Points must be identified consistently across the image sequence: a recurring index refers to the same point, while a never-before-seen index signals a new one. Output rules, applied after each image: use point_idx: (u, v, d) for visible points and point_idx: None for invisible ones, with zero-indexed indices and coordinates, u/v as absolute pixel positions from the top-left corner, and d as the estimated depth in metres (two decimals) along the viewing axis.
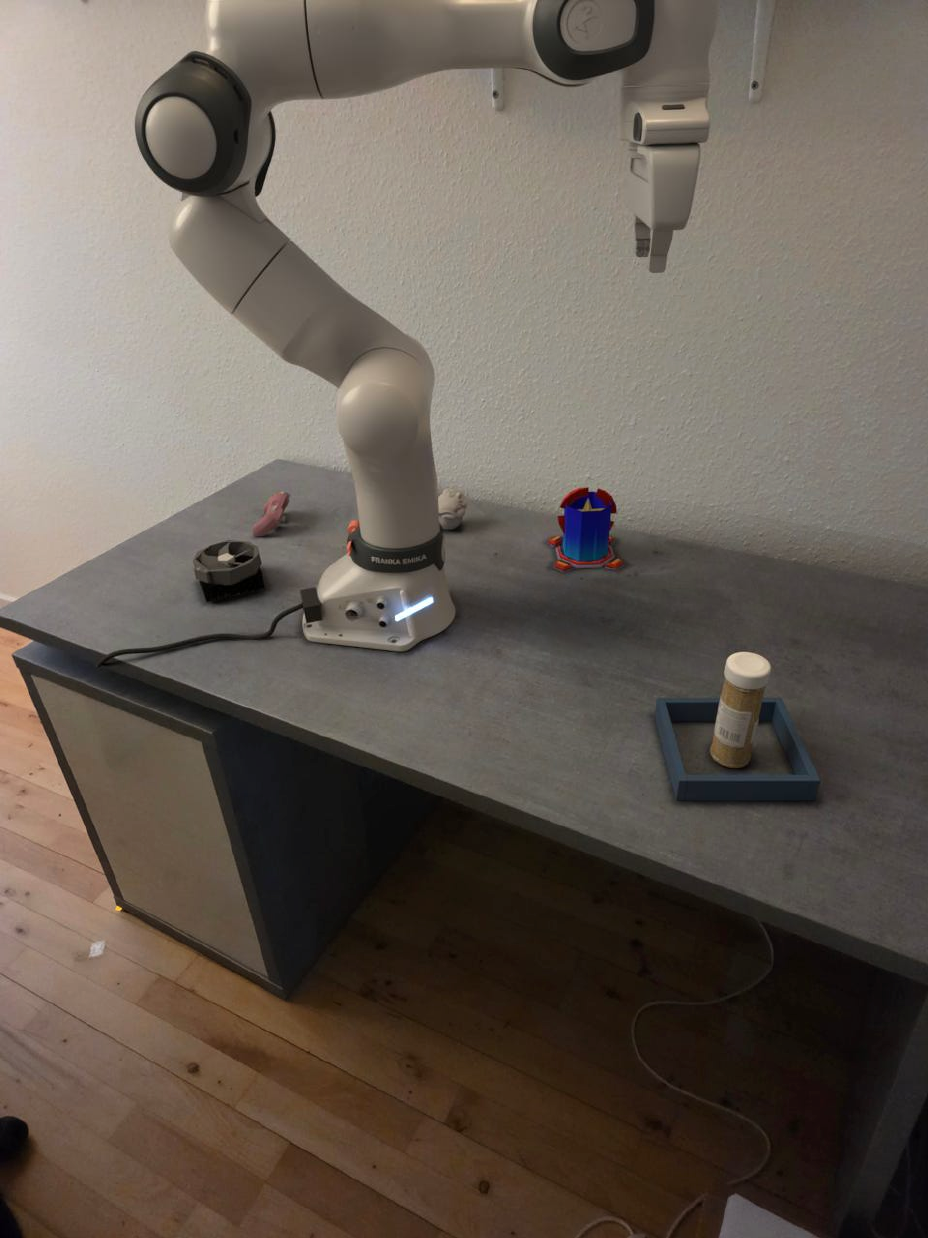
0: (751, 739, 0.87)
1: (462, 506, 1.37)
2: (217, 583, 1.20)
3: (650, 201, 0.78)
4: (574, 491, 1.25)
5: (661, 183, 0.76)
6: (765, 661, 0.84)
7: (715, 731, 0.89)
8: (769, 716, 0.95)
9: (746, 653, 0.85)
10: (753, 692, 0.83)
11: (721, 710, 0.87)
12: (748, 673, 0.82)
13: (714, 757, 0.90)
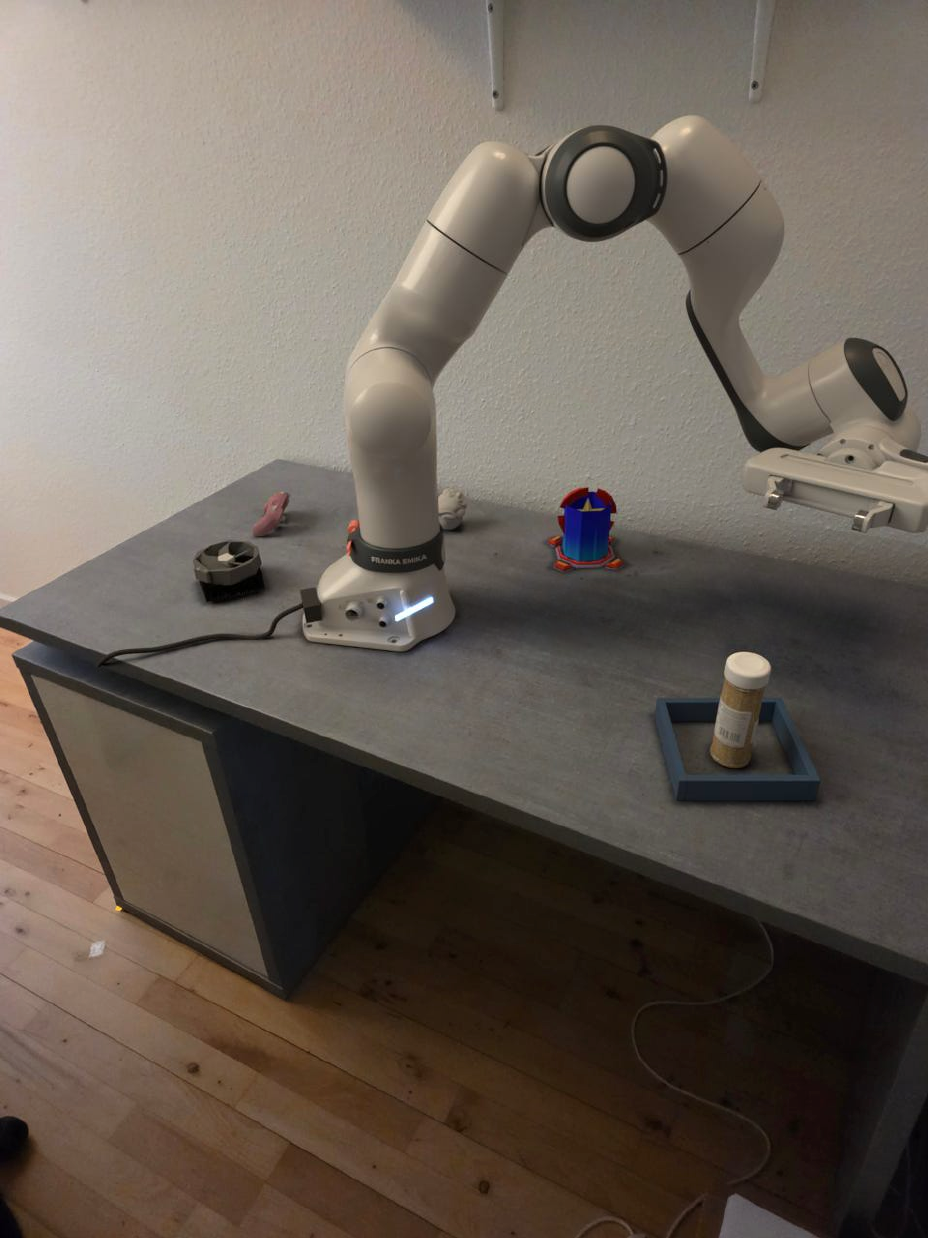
0: (751, 739, 0.87)
1: (462, 506, 1.37)
2: (217, 583, 1.20)
3: None
4: (574, 491, 1.25)
5: None
6: (765, 661, 0.84)
7: (715, 731, 0.89)
8: (769, 716, 0.95)
9: (746, 653, 0.85)
10: (753, 692, 0.83)
11: (721, 710, 0.87)
12: (748, 673, 0.82)
13: (714, 757, 0.90)
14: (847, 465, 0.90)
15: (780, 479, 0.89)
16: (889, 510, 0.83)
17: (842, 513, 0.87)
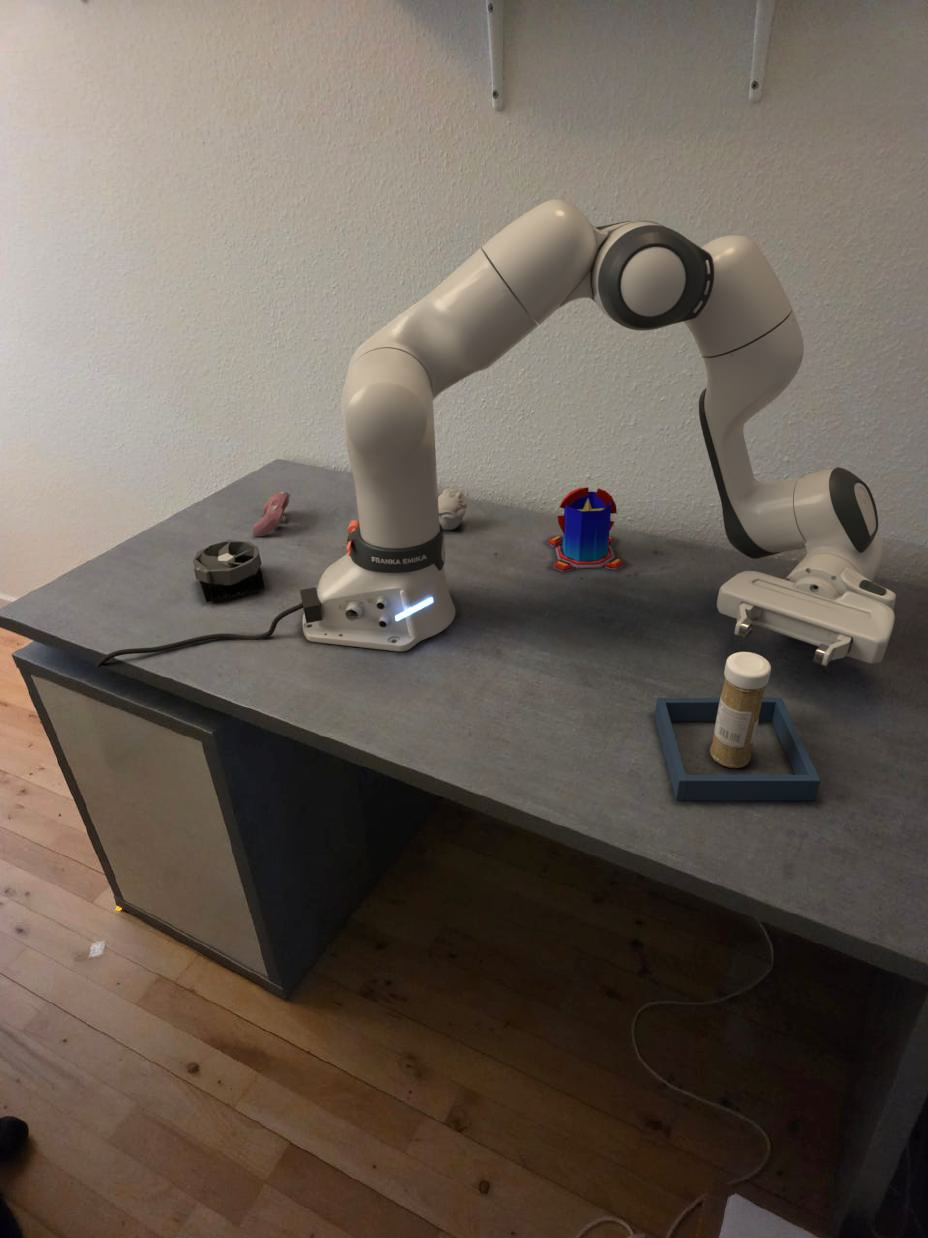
0: (751, 739, 0.87)
1: (462, 506, 1.37)
2: (217, 583, 1.20)
3: (888, 628, 0.91)
4: (574, 491, 1.25)
5: None
6: (765, 661, 0.84)
7: (715, 731, 0.89)
8: (769, 716, 0.95)
9: (746, 653, 0.85)
10: (753, 692, 0.83)
11: (721, 710, 0.87)
12: (748, 673, 0.82)
13: (714, 757, 0.90)
14: (812, 593, 0.98)
15: (750, 607, 0.97)
16: (847, 644, 0.91)
17: (806, 640, 0.95)
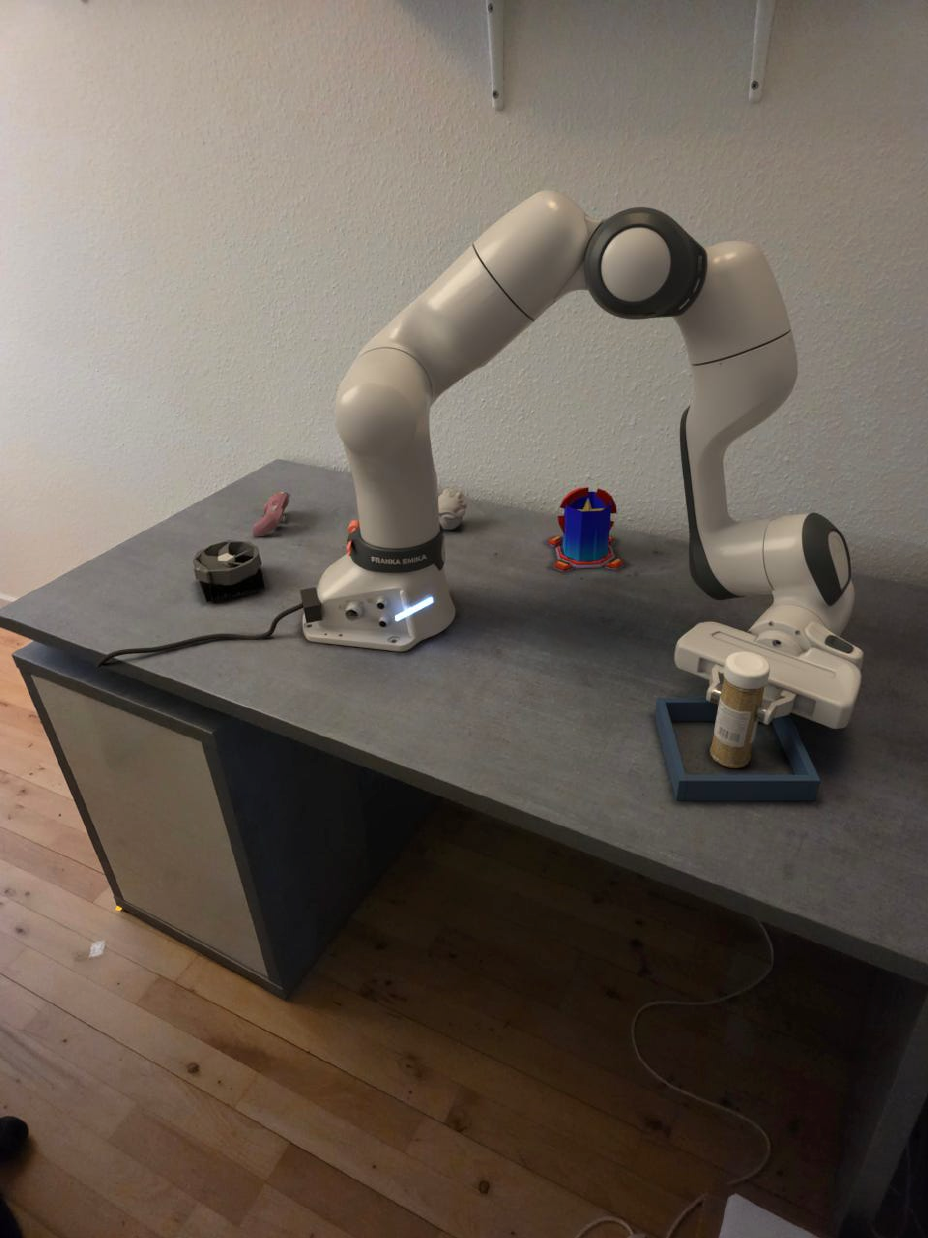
0: (751, 739, 0.87)
1: (462, 506, 1.37)
2: (217, 583, 1.20)
3: (853, 691, 0.84)
4: (574, 491, 1.25)
5: None
6: (764, 661, 0.84)
7: (715, 731, 0.89)
8: None
9: (745, 653, 0.85)
10: (753, 691, 0.83)
11: (720, 710, 0.87)
12: (748, 672, 0.82)
13: (714, 757, 0.90)
14: (775, 649, 0.92)
15: None
16: (791, 701, 0.85)
17: (767, 701, 0.89)
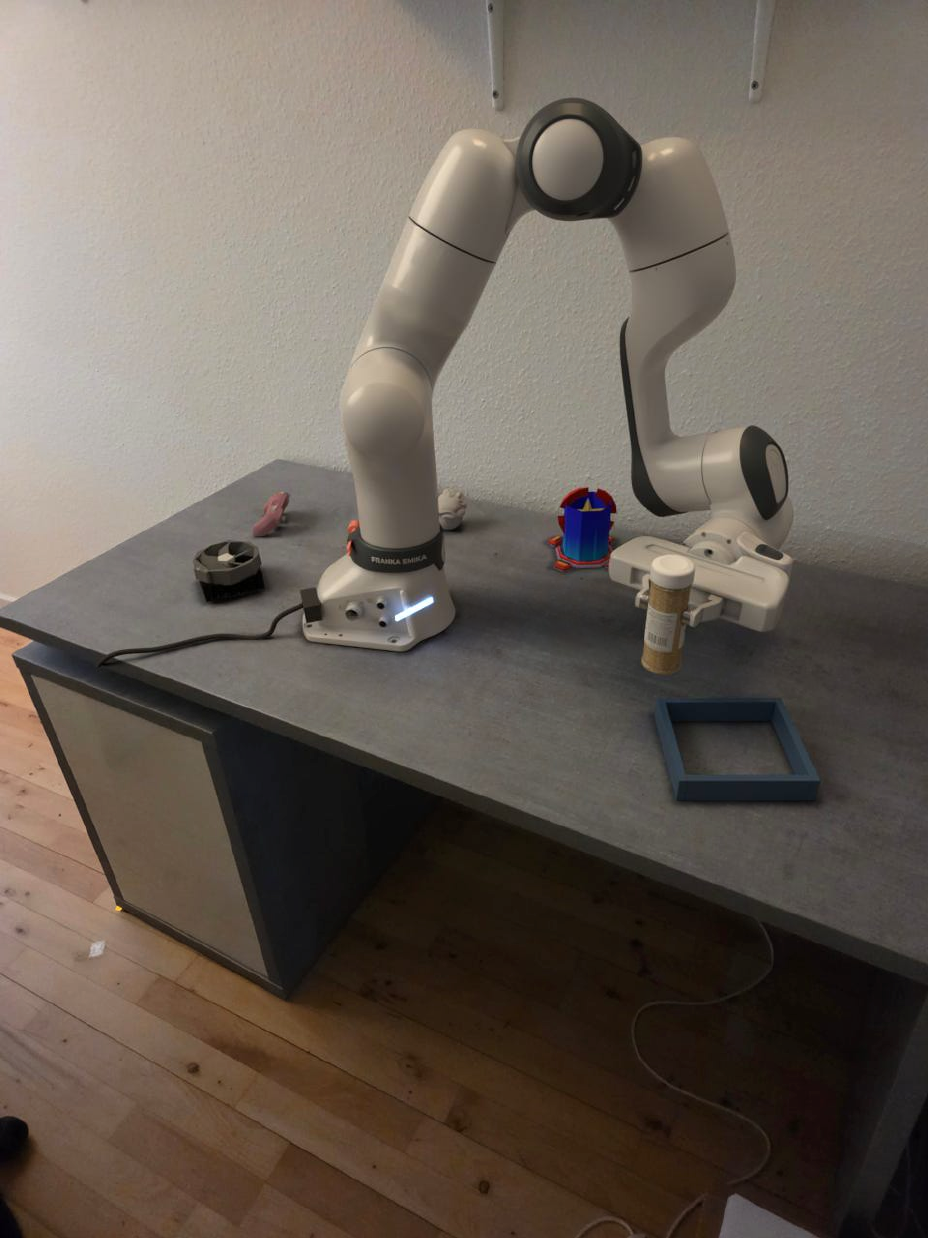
0: (679, 644, 0.87)
1: (462, 506, 1.37)
2: (217, 583, 1.20)
3: (779, 594, 0.85)
4: (574, 491, 1.25)
5: (785, 595, 0.86)
6: (690, 562, 0.84)
7: (644, 638, 0.89)
8: (769, 716, 0.95)
9: (672, 555, 0.85)
10: (678, 592, 0.83)
11: (648, 614, 0.87)
12: (672, 572, 0.82)
13: (644, 665, 0.90)
14: (706, 558, 0.92)
15: None
16: (718, 605, 0.86)
17: None
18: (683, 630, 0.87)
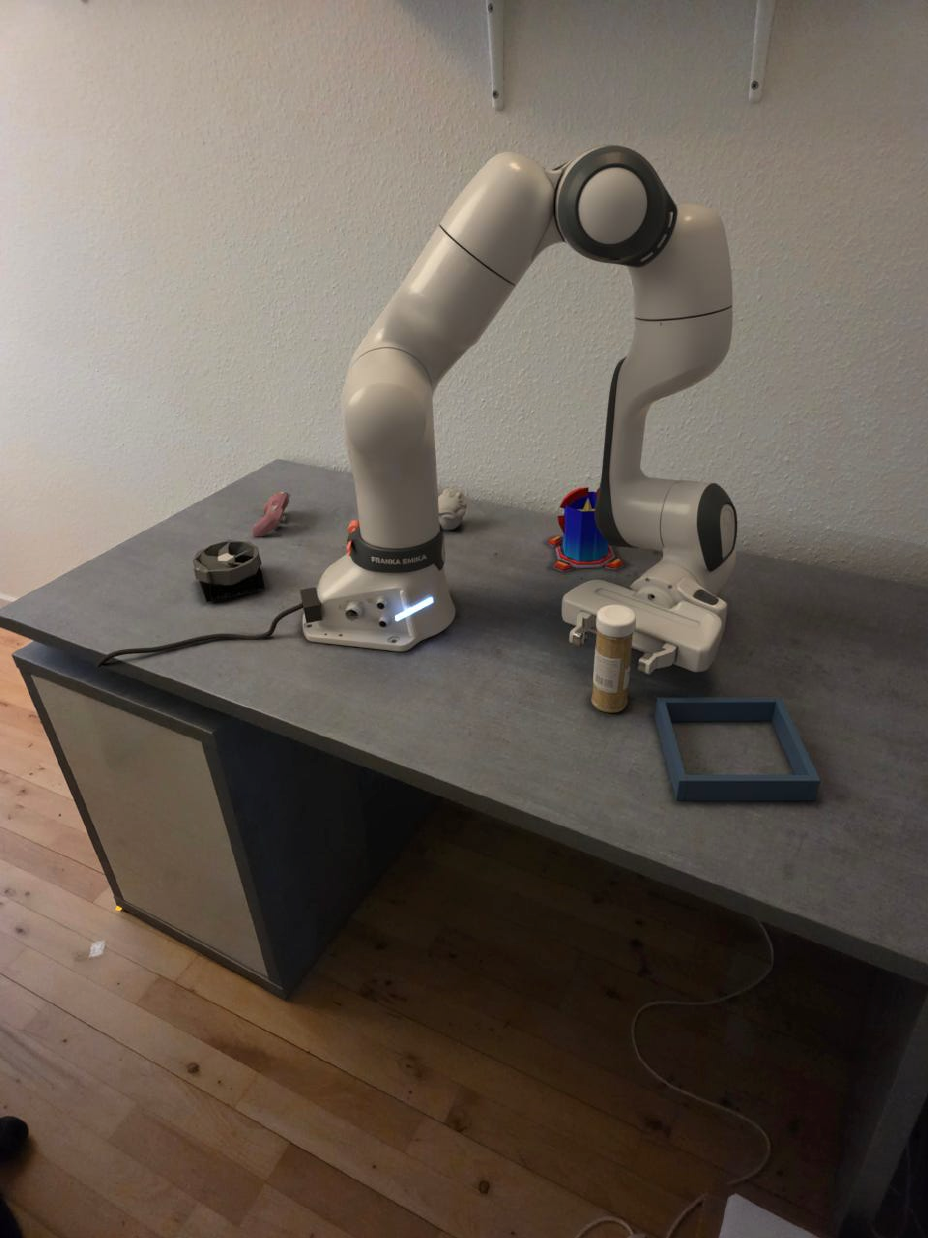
0: (624, 685, 0.96)
1: (462, 506, 1.37)
2: (217, 583, 1.20)
3: (711, 637, 0.93)
4: (574, 491, 1.25)
5: (718, 638, 0.94)
6: (631, 612, 0.92)
7: (593, 679, 0.97)
8: (769, 716, 0.95)
9: (616, 606, 0.93)
10: (620, 640, 0.91)
11: (595, 658, 0.95)
12: (614, 622, 0.91)
13: (594, 703, 0.98)
14: (650, 602, 1.00)
15: (588, 615, 0.99)
16: (671, 653, 0.93)
17: (639, 649, 0.97)
18: (627, 673, 0.95)
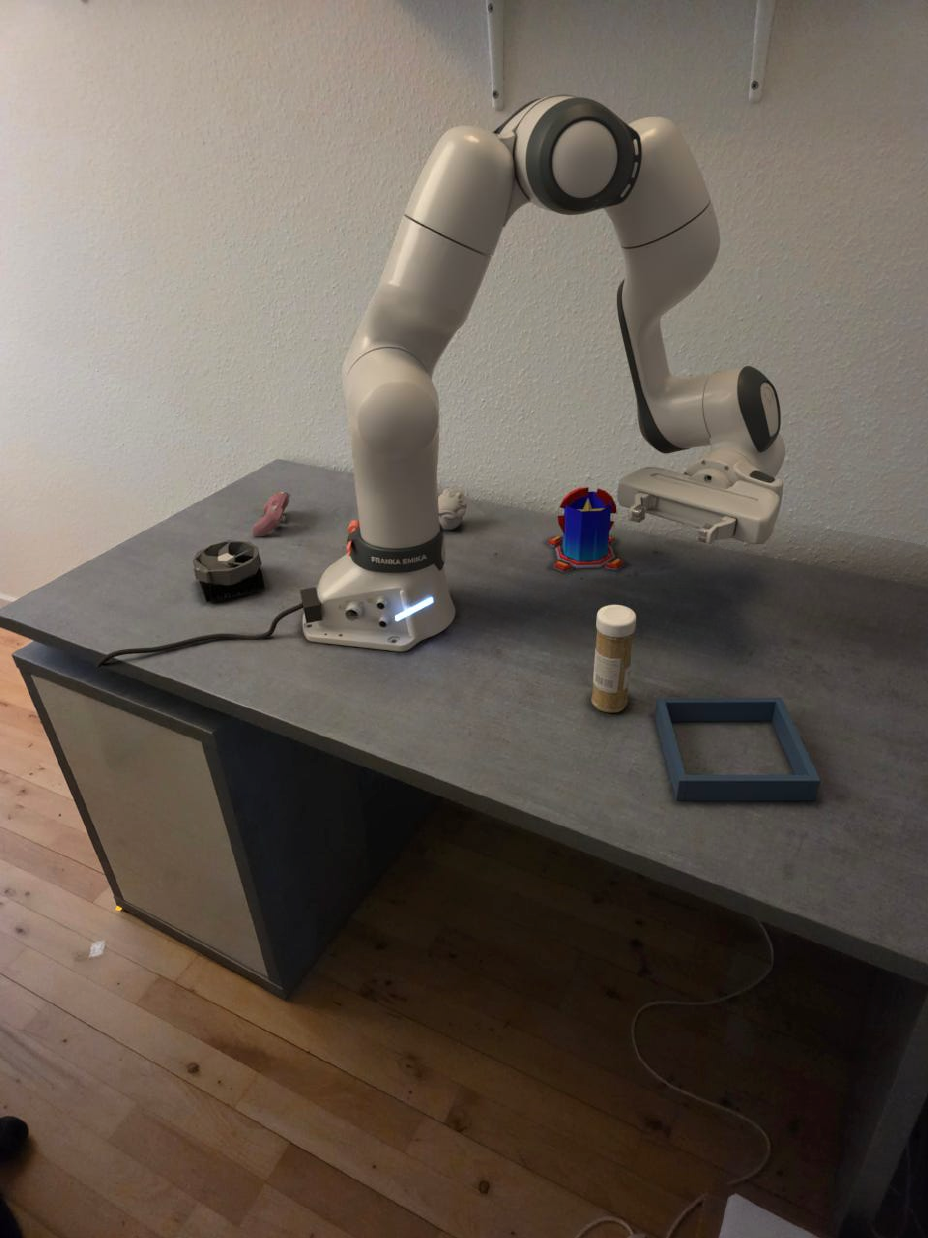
0: (624, 685, 0.96)
1: (462, 506, 1.37)
2: (217, 583, 1.20)
3: (770, 509, 0.95)
4: (574, 491, 1.25)
5: (776, 512, 0.96)
6: (631, 612, 0.92)
7: (593, 679, 0.97)
8: (769, 716, 0.95)
9: (616, 606, 0.93)
10: (620, 640, 0.91)
11: (595, 658, 0.95)
12: (614, 622, 0.91)
13: (594, 703, 0.98)
14: (706, 483, 1.02)
15: (646, 495, 1.01)
16: (731, 524, 0.95)
17: (697, 526, 0.99)
18: (627, 673, 0.95)
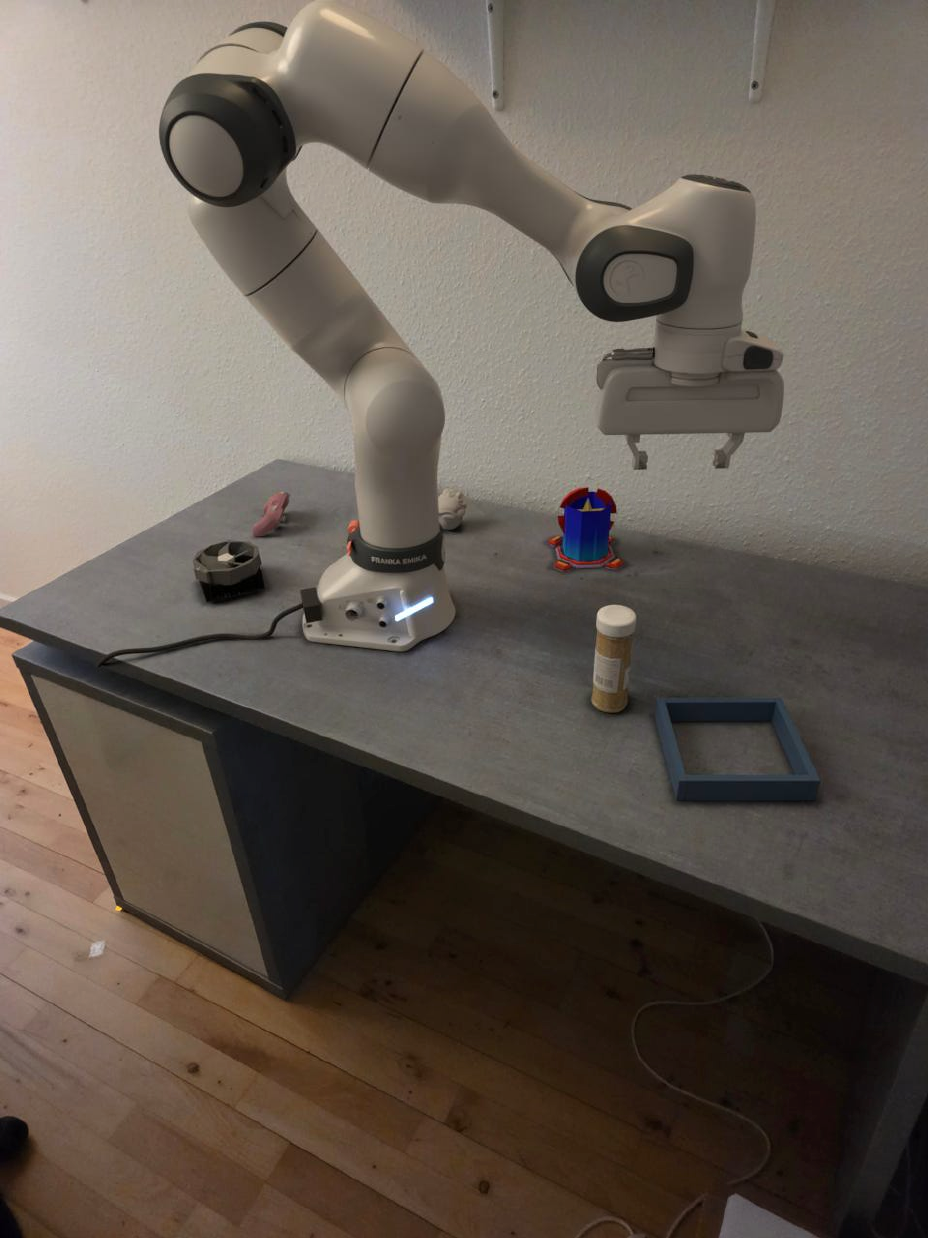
0: (624, 685, 0.96)
1: (462, 506, 1.37)
2: (217, 583, 1.20)
3: (778, 410, 0.86)
4: (574, 491, 1.25)
5: None
6: (631, 612, 0.92)
7: (593, 679, 0.97)
8: (769, 716, 0.95)
9: (616, 606, 0.93)
10: (620, 640, 0.91)
11: (595, 658, 0.95)
12: (614, 622, 0.91)
13: (594, 703, 0.98)
14: None
15: (638, 437, 0.90)
16: None
17: None
18: (627, 673, 0.95)
